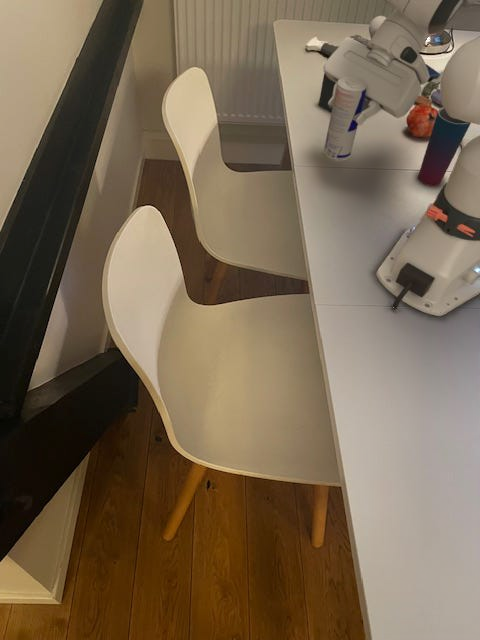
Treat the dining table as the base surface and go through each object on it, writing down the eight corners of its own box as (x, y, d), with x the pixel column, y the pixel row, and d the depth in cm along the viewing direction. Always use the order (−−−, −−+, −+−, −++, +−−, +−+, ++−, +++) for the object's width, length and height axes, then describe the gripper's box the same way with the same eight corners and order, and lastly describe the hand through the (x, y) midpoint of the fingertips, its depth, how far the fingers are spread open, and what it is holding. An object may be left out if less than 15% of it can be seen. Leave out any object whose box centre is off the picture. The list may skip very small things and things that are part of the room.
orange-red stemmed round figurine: (395, 137, 125) (413, 132, 116) (401, 106, 124) (419, 98, 114) (423, 141, 126) (443, 136, 117) (429, 110, 125) (450, 103, 115)
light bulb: (386, 52, 151) (395, 16, 143) (378, 59, 147) (388, 22, 140) (368, 47, 152) (376, 10, 145) (360, 54, 149) (368, 17, 141)
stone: (401, 93, 135) (396, 99, 134) (402, 88, 134) (397, 94, 133) (433, 104, 131) (428, 110, 130) (434, 98, 130) (429, 104, 129)
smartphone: (440, 76, 140) (411, 55, 149) (441, 73, 140) (412, 52, 149) (417, 80, 138) (388, 59, 148) (417, 77, 138) (389, 56, 147)
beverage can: (349, 163, 103) (366, 92, 92) (322, 159, 104) (336, 87, 92) (351, 149, 107) (368, 78, 95) (324, 145, 107) (338, 74, 96)
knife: (452, 74, 144) (441, 72, 146) (453, 70, 143) (443, 67, 145) (426, 99, 133) (415, 96, 134) (428, 94, 132) (417, 91, 133)
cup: (423, 190, 108) (449, 125, 97) (408, 171, 113) (431, 107, 101) (450, 186, 110) (479, 122, 98) (435, 167, 114) (461, 104, 102)
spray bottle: (379, 75, 141) (300, 54, 148) (392, 60, 147) (314, 41, 154) (382, 64, 138) (301, 44, 146) (394, 50, 145) (316, 31, 152)
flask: (453, 117, 128) (457, 106, 126) (423, 98, 134) (426, 87, 132) (477, 109, 132) (482, 98, 130) (447, 90, 137) (451, 80, 135)
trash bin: (352, 123, 124) (362, 80, 116) (318, 105, 129) (325, 63, 121) (378, 108, 130) (389, 66, 121) (344, 91, 134) (353, 50, 126)
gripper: (345, 21, 97) (301, 84, 101) (429, 62, 87) (376, 130, 91) (356, 41, 102) (314, 100, 106) (436, 81, 93) (386, 145, 96)
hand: (343, 114), depth 98 cm, fingers closed on beverage can, 5 cm apart
